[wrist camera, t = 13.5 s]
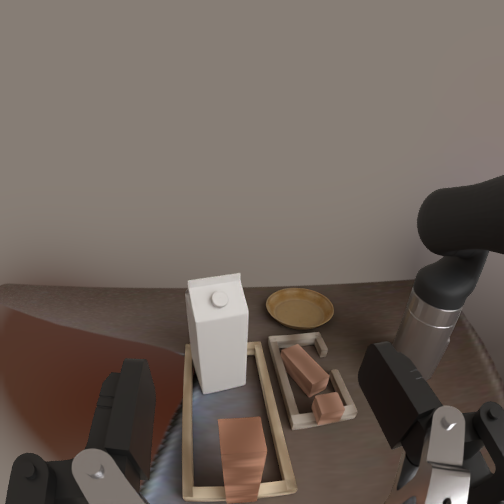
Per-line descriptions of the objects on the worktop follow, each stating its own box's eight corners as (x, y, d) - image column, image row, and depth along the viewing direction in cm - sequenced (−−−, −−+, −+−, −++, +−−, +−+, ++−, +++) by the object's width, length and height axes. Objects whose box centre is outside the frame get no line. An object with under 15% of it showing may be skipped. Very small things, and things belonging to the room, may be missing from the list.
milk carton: (192, 365, 48) (183, 268, 40) (231, 357, 50) (231, 261, 43) (203, 395, 42) (193, 295, 34) (245, 385, 44) (250, 286, 37)
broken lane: (317, 338, 56) (321, 319, 54) (356, 422, 37) (365, 404, 35) (267, 343, 54) (269, 323, 52) (293, 435, 35) (298, 417, 33)
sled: (259, 348, 52) (265, 267, 45) (296, 498, 26) (330, 440, 19) (186, 351, 50) (177, 269, 44) (185, 507, 24) (153, 453, 17)
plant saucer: (342, 331, 58) (345, 321, 57) (275, 341, 55) (276, 330, 54) (317, 294, 71) (318, 285, 70) (258, 300, 68) (259, 290, 67)
